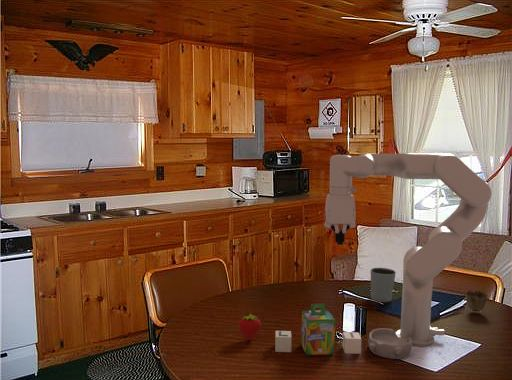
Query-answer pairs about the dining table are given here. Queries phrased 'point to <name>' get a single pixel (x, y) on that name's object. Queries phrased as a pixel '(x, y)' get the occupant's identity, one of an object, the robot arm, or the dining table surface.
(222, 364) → the dining table surface
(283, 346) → the white marked cube
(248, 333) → the strawberry
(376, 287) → the grey cylinder
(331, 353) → the chalk box
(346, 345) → the cream numeral block
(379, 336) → the dish
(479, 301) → the cup
